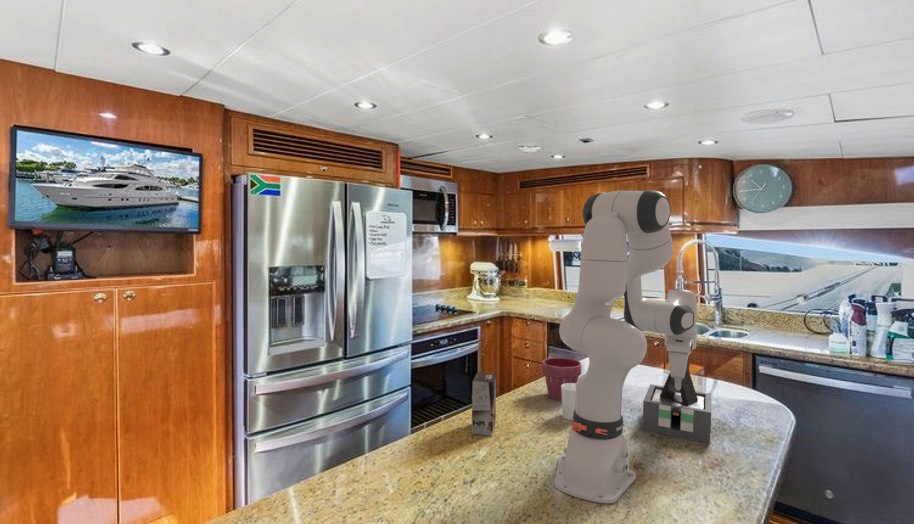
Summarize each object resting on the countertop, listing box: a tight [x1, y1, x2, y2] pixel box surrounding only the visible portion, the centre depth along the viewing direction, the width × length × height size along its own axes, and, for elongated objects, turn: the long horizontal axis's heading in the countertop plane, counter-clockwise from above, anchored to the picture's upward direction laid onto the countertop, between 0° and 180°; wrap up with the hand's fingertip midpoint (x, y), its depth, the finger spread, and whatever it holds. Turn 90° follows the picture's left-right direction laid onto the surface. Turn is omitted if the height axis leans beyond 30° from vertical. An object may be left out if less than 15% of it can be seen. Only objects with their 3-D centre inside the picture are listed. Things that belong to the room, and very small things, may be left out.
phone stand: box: [660, 360, 698, 406], centre depth 140 cm, size 9×6×12 cm, turn 36°
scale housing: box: [642, 383, 712, 444], centre depth 141 cm, size 18×18×9 cm
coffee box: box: [471, 372, 497, 437], centre depth 137 cm, size 9×6×16 cm
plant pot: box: [541, 357, 582, 401], centre depth 166 cm, size 14×14×13 cm
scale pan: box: [652, 389, 704, 414], centre depth 139 cm, size 17×14×1 cm
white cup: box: [561, 383, 576, 422], centre depth 147 cm, size 8×8×10 cm
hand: (678, 384), depth 140 cm, fingers closed on phone stand, 6 cm apart
